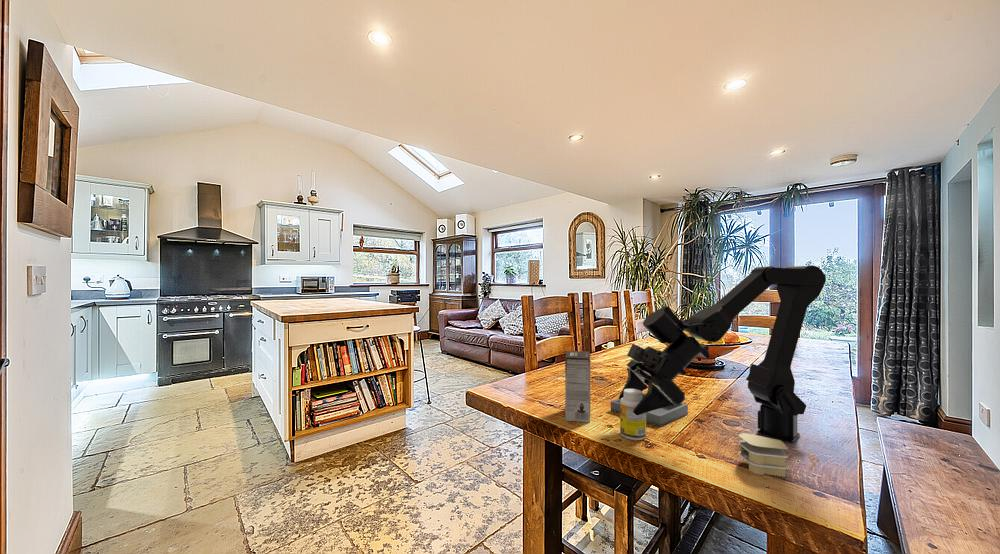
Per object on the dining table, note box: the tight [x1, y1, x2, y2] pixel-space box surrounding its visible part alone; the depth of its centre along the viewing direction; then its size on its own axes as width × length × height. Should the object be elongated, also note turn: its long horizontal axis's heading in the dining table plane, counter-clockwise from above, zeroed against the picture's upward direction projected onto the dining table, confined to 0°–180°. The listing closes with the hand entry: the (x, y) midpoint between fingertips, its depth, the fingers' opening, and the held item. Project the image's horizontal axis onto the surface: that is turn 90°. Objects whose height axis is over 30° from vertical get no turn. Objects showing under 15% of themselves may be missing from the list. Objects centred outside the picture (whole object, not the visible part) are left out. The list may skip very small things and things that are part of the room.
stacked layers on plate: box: [737, 432, 789, 478], centre depth 69 cm, size 10×9×6 cm
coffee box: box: [564, 350, 592, 423], centre depth 96 cm, size 9×6×16 cm
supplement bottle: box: [619, 389, 647, 441], centre depth 83 cm, size 6×6×10 cm
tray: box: [610, 392, 689, 428], centre depth 98 cm, size 14×14×2 cm
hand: (626, 406), depth 83 cm, fingers open, 9 cm apart
